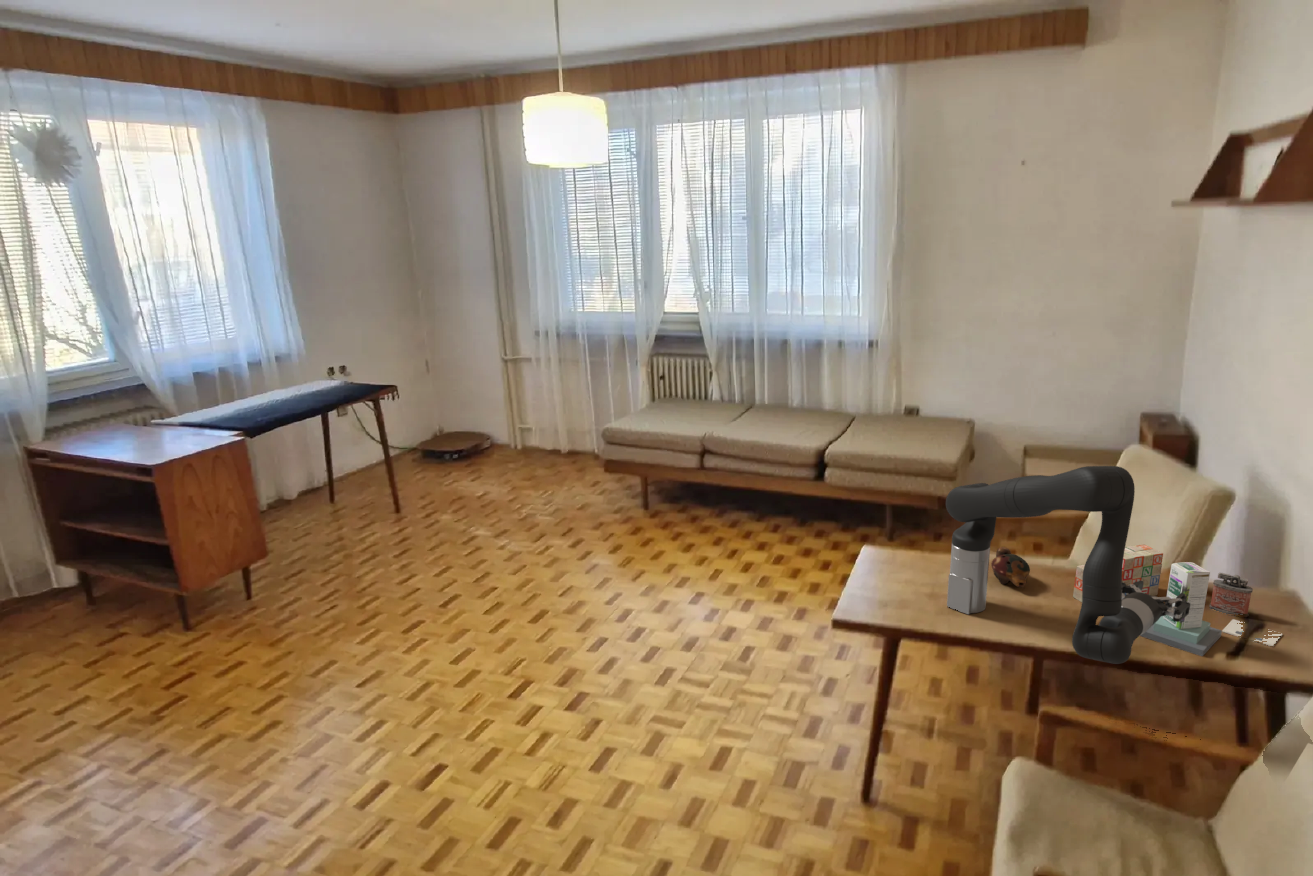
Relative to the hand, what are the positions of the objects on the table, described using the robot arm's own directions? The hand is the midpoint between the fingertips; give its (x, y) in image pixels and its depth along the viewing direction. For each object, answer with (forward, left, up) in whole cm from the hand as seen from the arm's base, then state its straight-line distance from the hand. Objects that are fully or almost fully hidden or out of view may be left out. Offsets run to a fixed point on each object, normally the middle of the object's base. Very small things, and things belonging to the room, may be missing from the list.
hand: (1161, 590), depth 184 cm
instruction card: (+24, -13, -15) cm, 31 cm away
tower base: (+11, -2, -15) cm, 18 cm away
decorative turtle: (+11, +40, -15) cm, 44 cm away
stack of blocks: (+21, +16, -15) cm, 31 cm away
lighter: (+32, -6, -15) cm, 35 cm away
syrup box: (+10, -2, -12) cm, 16 cm away
